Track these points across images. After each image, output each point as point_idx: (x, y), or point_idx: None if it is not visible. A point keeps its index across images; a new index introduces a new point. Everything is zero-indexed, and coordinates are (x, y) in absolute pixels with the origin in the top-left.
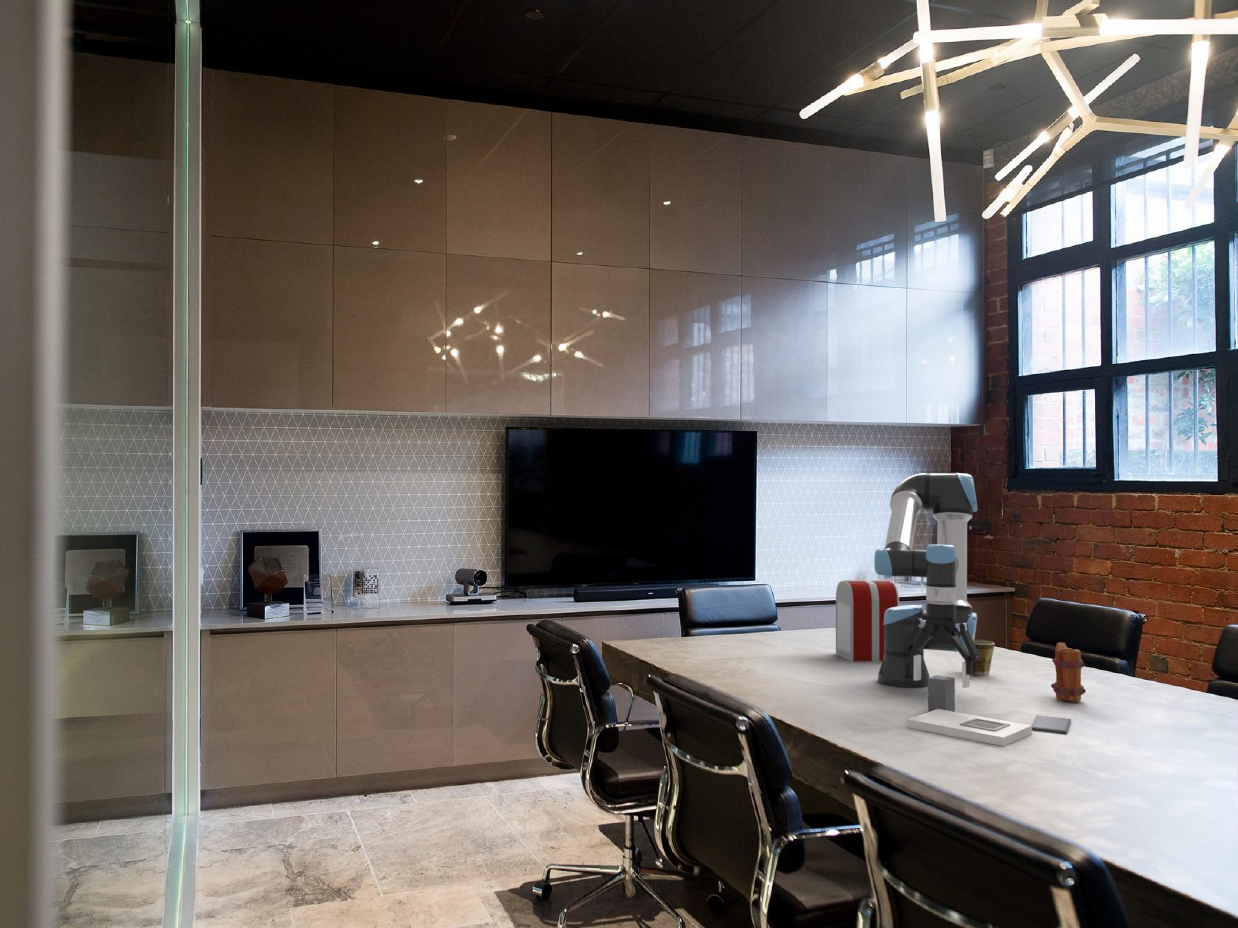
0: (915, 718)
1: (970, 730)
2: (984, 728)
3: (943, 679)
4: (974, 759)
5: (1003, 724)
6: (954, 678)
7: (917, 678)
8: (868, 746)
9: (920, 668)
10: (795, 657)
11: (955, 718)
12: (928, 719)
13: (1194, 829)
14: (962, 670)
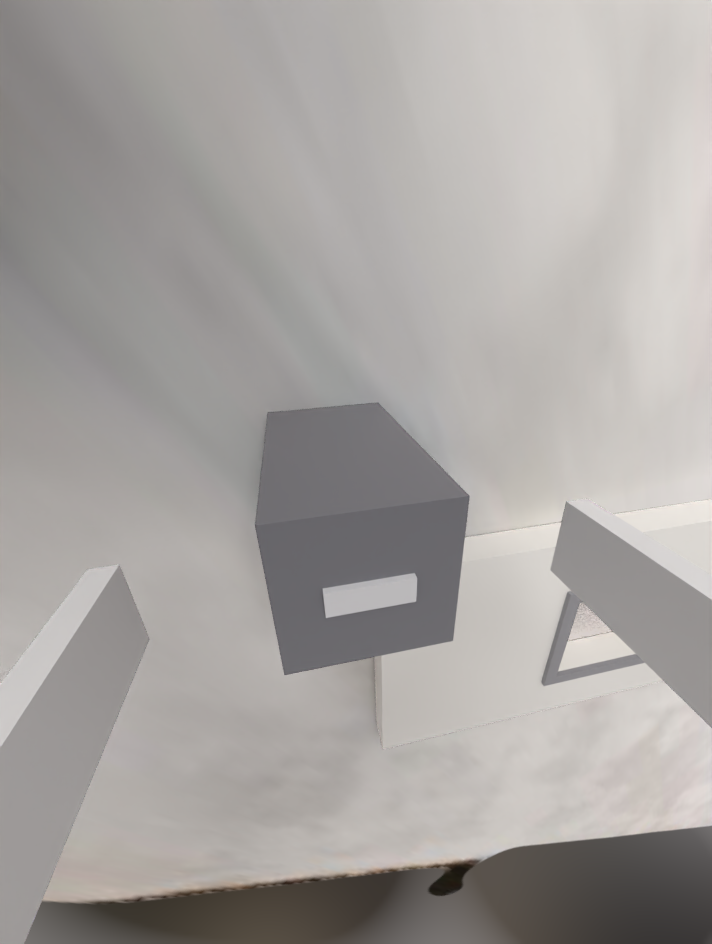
0: (397, 728)
1: (581, 696)
2: (618, 668)
3: (421, 630)
4: (600, 755)
5: None
6: (464, 495)
7: (136, 635)
8: (403, 843)
9: (60, 679)
10: None
11: (503, 636)
12: (435, 707)
13: None
14: (676, 690)
